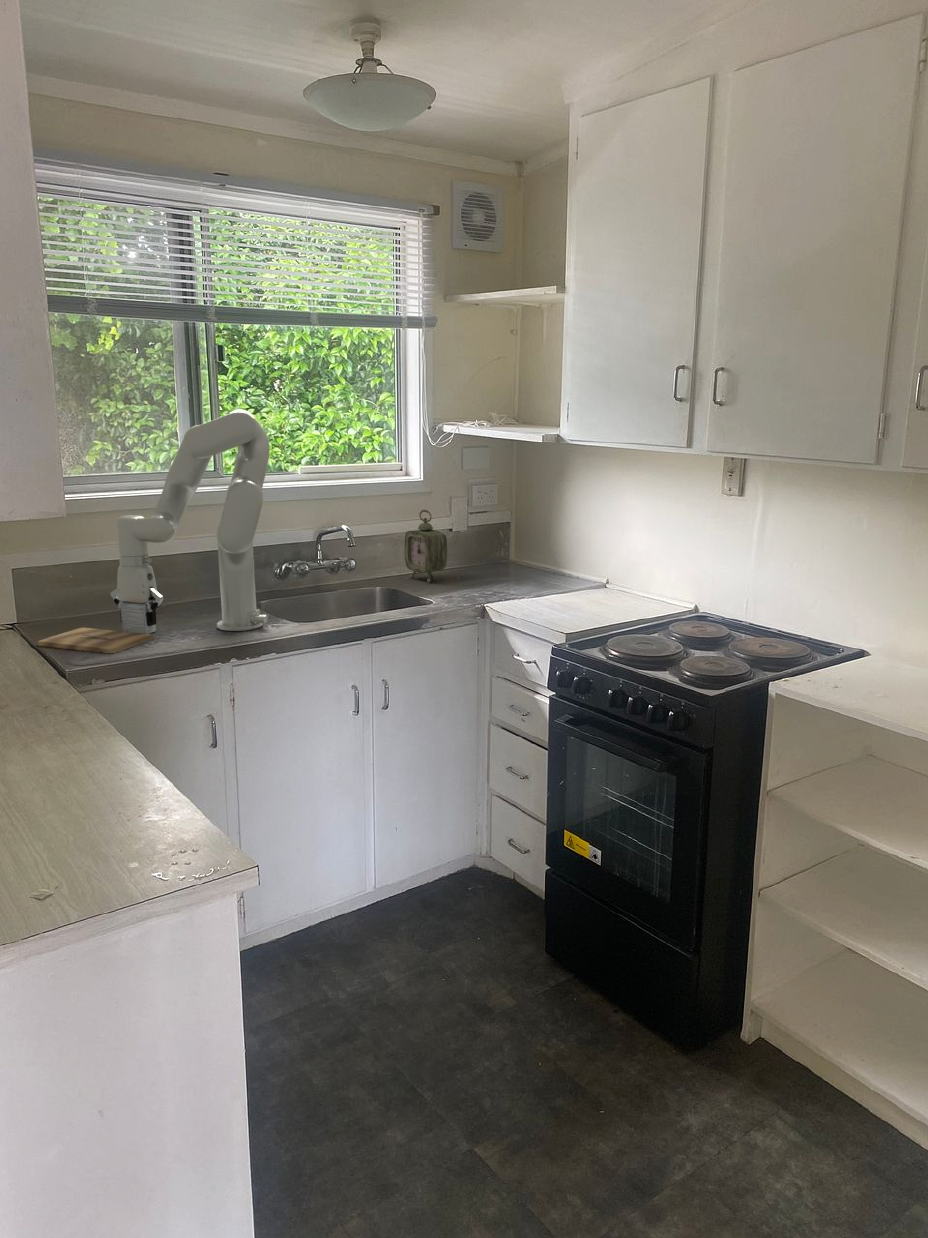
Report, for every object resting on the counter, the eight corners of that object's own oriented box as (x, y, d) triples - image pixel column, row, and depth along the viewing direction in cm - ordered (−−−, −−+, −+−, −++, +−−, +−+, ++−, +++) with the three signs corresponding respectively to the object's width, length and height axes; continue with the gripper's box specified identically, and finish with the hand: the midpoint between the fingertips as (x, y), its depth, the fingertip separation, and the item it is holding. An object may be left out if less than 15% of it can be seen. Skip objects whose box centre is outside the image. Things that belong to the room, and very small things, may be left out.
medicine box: (156, 631, 257) (154, 601, 255) (146, 635, 253) (144, 604, 250) (132, 629, 259) (129, 599, 257) (122, 633, 255) (119, 602, 253)
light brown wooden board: (153, 638, 249) (153, 634, 248) (112, 653, 234) (112, 649, 234) (81, 631, 257) (81, 627, 256) (37, 645, 242) (37, 640, 242)
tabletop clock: (404, 578, 332) (403, 508, 327) (425, 575, 338) (424, 507, 332) (428, 584, 321) (427, 512, 315) (449, 581, 327) (448, 510, 321)
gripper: (169, 561, 252) (173, 623, 256) (117, 557, 258) (122, 618, 262) (151, 565, 245) (156, 629, 249) (98, 561, 251) (103, 623, 255)
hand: (138, 623), depth 255 cm, fingers closed on medicine box, 8 cm apart
